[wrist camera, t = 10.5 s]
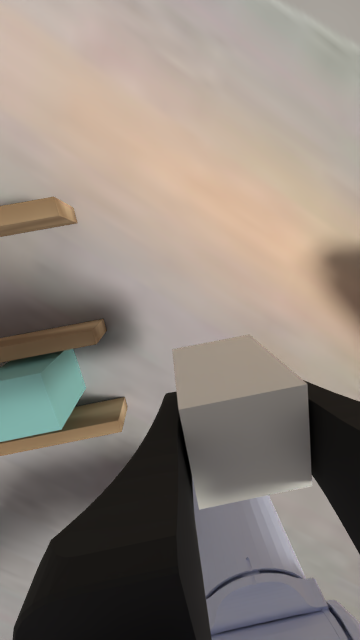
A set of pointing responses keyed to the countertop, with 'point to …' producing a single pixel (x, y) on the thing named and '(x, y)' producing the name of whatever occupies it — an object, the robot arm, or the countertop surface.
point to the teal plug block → (38, 394)
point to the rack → (56, 338)
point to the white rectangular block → (242, 421)
